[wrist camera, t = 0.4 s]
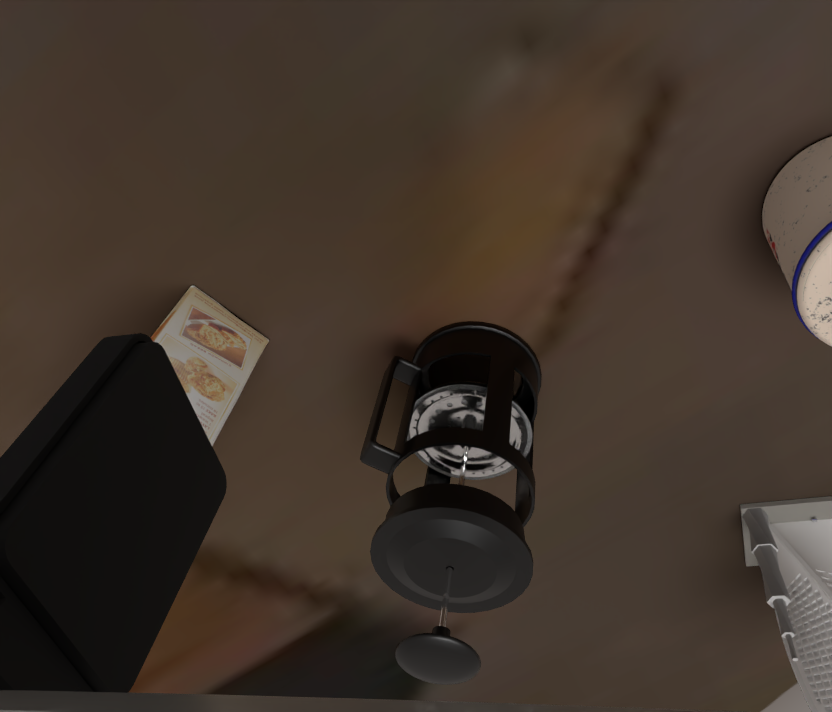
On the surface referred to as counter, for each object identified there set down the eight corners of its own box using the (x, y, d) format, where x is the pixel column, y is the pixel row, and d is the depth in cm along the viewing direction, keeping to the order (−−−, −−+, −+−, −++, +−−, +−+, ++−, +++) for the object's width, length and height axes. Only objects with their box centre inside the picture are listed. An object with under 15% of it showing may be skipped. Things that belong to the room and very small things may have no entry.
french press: (575, 361, 52) (586, 663, 34) (508, 444, 58) (488, 742, 40) (424, 288, 51) (352, 566, 32) (371, 381, 56) (283, 663, 38)
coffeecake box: (191, 281, 53) (43, 480, 38) (273, 339, 55) (165, 551, 40) (106, 394, 61) (-46, 596, 46) (180, 441, 63) (60, 650, 48)
